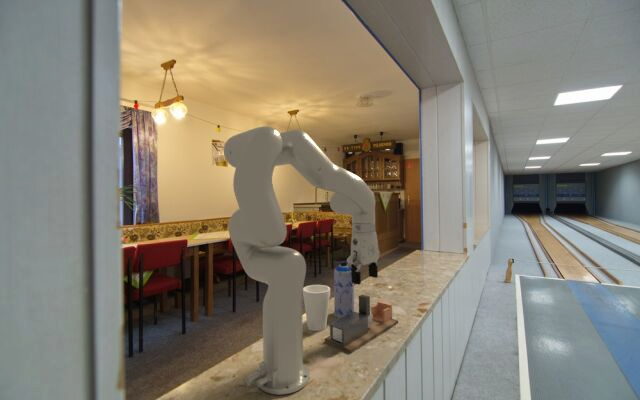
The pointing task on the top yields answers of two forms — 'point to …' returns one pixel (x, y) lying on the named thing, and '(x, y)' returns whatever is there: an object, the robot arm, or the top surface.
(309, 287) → the foam cup
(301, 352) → the robot arm
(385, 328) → the track board
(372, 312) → the socket block
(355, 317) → the outer sleeve
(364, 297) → the square sliding rod
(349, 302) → the aerosol can
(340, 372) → the top surface
